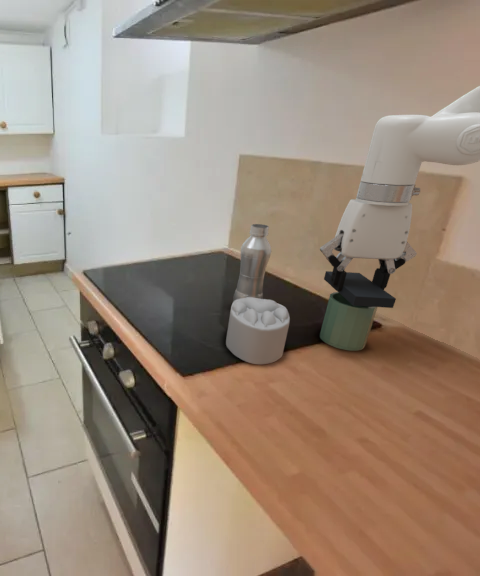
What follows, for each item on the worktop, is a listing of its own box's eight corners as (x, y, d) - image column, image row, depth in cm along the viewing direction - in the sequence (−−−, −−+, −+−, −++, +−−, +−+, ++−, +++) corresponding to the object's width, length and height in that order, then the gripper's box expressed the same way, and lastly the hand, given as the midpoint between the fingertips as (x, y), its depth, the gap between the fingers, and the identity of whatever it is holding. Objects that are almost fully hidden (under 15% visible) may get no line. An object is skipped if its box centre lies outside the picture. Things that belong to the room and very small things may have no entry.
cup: (353, 332, 79) (365, 292, 76) (372, 352, 72) (386, 309, 69) (313, 329, 80) (323, 290, 77) (328, 349, 73) (340, 306, 70)
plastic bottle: (263, 307, 90) (278, 224, 83) (257, 318, 85) (273, 231, 77) (235, 301, 94) (247, 221, 86) (228, 311, 88) (240, 227, 81)
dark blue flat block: (357, 281, 78) (359, 272, 77) (393, 308, 66) (396, 298, 65) (323, 279, 78) (325, 271, 78) (353, 305, 67) (355, 296, 66)
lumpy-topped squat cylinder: (281, 335, 78) (289, 297, 74) (284, 369, 67) (294, 326, 63) (228, 326, 81) (233, 289, 78) (223, 357, 70) (229, 315, 67)
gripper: (425, 191, 67) (394, 285, 74) (321, 189, 70) (300, 280, 77) (455, 198, 60) (418, 300, 67) (338, 195, 63) (314, 294, 70)
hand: (356, 289), depth 72 cm, fingers closed on dark blue flat block, 6 cm apart
